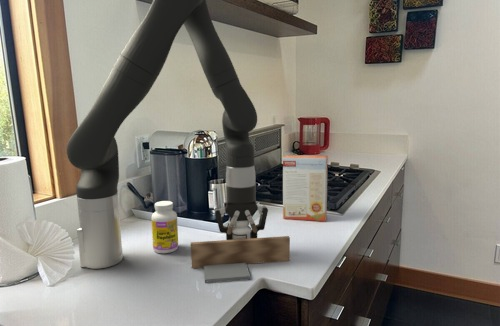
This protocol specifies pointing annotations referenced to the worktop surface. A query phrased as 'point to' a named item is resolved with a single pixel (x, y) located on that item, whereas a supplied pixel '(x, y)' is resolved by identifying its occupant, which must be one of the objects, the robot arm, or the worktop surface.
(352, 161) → the worktop surface
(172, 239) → the supplement bottle
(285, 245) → the walnut screen
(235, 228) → the pill bottle
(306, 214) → the cracker box
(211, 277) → the grey pad
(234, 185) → the robot arm
